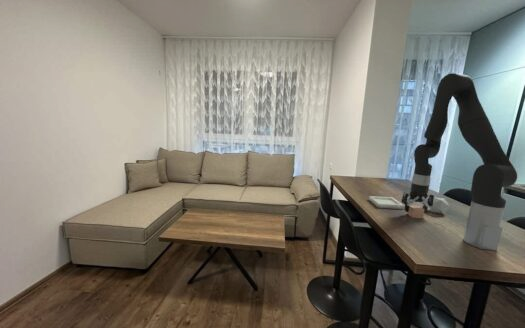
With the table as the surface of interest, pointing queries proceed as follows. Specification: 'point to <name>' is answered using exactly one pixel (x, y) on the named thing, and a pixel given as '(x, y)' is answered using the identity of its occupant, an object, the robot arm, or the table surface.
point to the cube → (416, 211)
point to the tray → (386, 202)
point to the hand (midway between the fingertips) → (415, 212)
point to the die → (439, 205)
